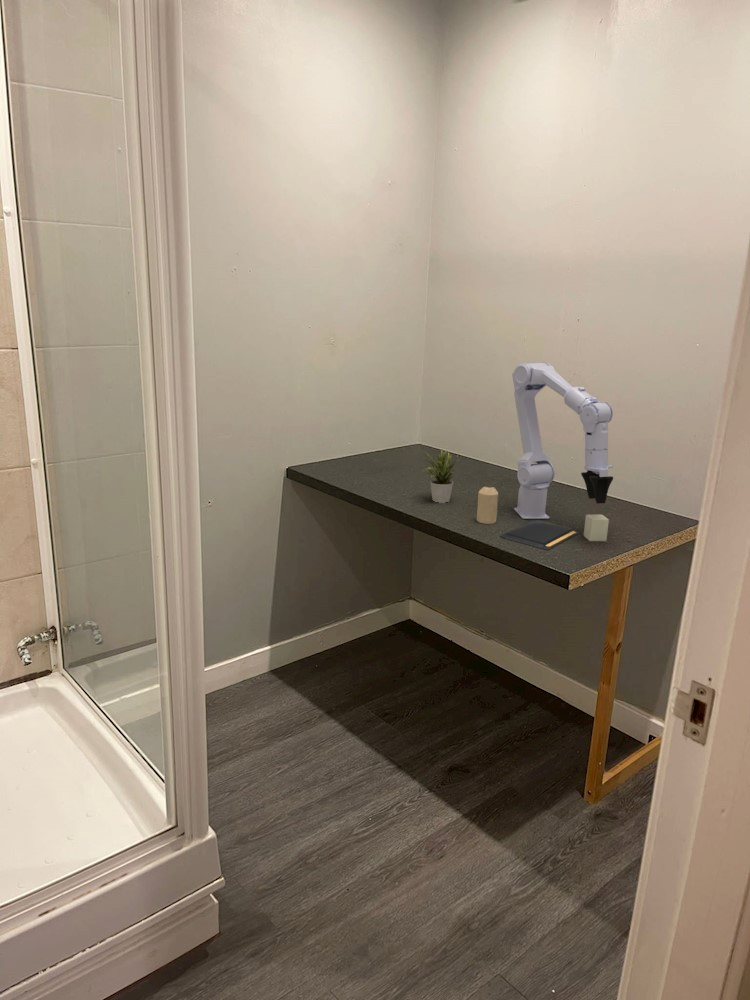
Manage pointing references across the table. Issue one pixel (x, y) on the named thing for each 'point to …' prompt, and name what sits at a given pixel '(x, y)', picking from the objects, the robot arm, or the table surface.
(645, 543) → the table surface
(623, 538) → the table surface
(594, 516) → the block
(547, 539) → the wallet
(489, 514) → the candle
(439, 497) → the house plant
